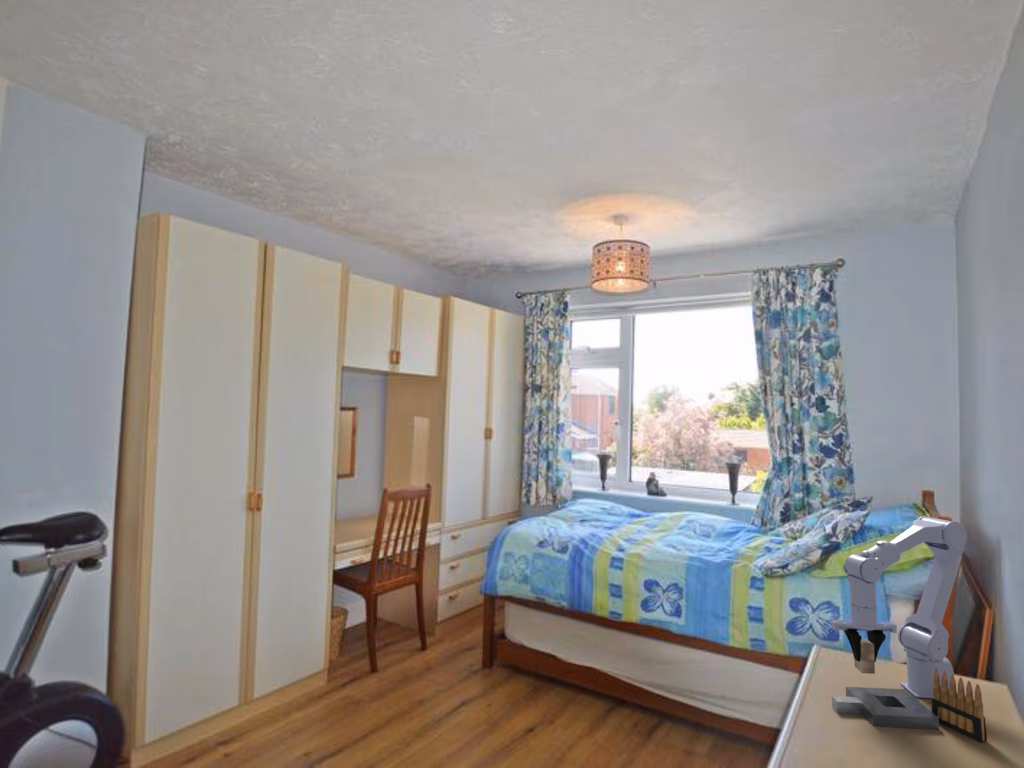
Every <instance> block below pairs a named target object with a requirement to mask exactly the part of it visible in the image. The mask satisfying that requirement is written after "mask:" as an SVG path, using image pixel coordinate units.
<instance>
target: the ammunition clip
mask: <svg viewBox="0 0 1024 768" xmlns="http://www.w3.org/2000/svg"><path fill="white" fill-rule="evenodd" d="M933 678H934V680H933V698H931V712H933V713H934V714H935V715H936V716H937V717H938V718H939V725H941V726H943V727H946V728H948V729H950V730H952V731H953V732H954V731H955V732H957V733H958V734H961V735H963V736H965V737H967V738H969V739H971V740H973V741H976V742H978V743H980V744H981V743H982V744H983V743H987V742H988V736H987V726H986V725H987V724H986V716H984V703H983V698H982V691H981V690H982V689H981V688H980V685H979V684H978V683H976V685H975V688H974V691H973V686H972V683H971V680H967V682H966V687H965V685H964V681H963V680H964V679H962V677H959V678H958V681H957V683H956V677H955V675H953V674H952V675H951V677H950V687H949V689H948V680H947V675H946V673H945V671H943V673H942V679H941V686H940V677H939V672H938V670H937V668H935V670H934V677H933Z"/></svg>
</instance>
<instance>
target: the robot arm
mask: <svg viewBox="0 0 1024 768" xmlns="http://www.w3.org/2000/svg"><path fill="white" fill-rule="evenodd" d="M967 540H968V534H967V531H966V530H965V527H964V525H962V523H960V522H958V521H954V520H951V521H950V520H947V519H946V520H945V519H941V518H936V517H932V516H928V515H922V516H920V517H918V518H917V519H915V520H913V521H912V525H911V526H910V527H909V528H908V529H906V530H905V531H903V532H902V533H900V534H899V535H897V536H896V537H895V538H894V539H892V540H891V541H887V540H878V541H876V542H875V544H874V545H873V546H871V547H870V548H868V549H865V550H863V551H861V553H860V554H854V553H853V554H851V555H850V556H848V557H847V558H846V560H845V562H844V564H843V565H842V569H843V571H844V573H845V574H846V577H847V582H848V584H849V585H848V586H849V612H850V613H849V614H850V616H849V617H850V618H845V619H831V629H832V630H834V631H843V633H844V634H845V636H846V638H847V640H848V642H849V645H850V648H851V651H852V654H853V659H854V661H855V660H856V661H860V658H861V654H860V644H861V639H863V638H862V635H860V633H859V631H861V632H862V631H863V632H866V636H867V640H869V641H870V642H871V643H872V644H874V660H875V663H876V661H877V658H878V657H877V656H878V654H879V651H880V648H881V646H882V645H883V643H884V642H885V640H886V638H887V637H886V634H885V633H884V632H888V633H889V632H890V633H892V634H897V639H898V642H899V644H900V645H901V646H902V647H903V651H904V652H905V653H906V678H907V679H906V680H907V681H900V682H899V684H900V685H901V686H902V687H903V688H904V689H906V690H907V691H908V692H909V693H910V694H911V695H913V696H914V697H915V698H920V699H932V698H933V680H934V678H933V677H934V670H935V668H937V670H938V672H939V677H940V686H941V679H942V673H943V671H945V673H946V675H947V680H948V689H949V687H950V677H951V675H952V674H953V675H954V674H955V673H954V668H953V664H952V663H951V661H950V660H949V659H948V657H946V656H947V655H948V653H949V640H950V639H949V638H950V634H949V631H948V630H947V629H946V628H945V626H944V625H943V620H944V616H945V613H946V610H947V606H948V603H949V600H950V598H951V597H950V596H951V594H952V590H953V587H954V585H955V582H956V578H957V576H958V575H957V574H958V572H959V568H960V566H961V562H962V557H963V552H964V550H965V546H966V543H967ZM920 544H924V545H926V547H927V548H928V549H929V550H930V551H931V552H932V554H933V556H934V558H933V561H932V564H931V567H930V571H929V573H928V575H927V576H928V577H927V580H926V583H925V585H924V589H923V593H922V597H921V599H920V601H919V604H918V608H917V611H916V613H913V614H911V615H908V616H906V618H905V621H904V623H903V624H902V625H901V626H900V628H899V629H897V628H898V627H897V624H895V623H894V622H891V621H880V620H877V619H878V616H877V613H878V612H877V584H876V583H877V581H879V580H880V579H881V577H882V573H884V572H885V570H886V569H888V568H890V567H891V566H893V565H895V564H896V563H898V562H900V560H901V554H903V553H905V552H908V551H909V550H910V549H913V548H914V547H917V546H919V545H920ZM897 630H898V631H897ZM954 676H955V675H954Z"/></svg>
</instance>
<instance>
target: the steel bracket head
mask: <svg viewBox="0 0 1024 768" xmlns="http://www.w3.org/2000/svg"><path fill="white" fill-rule="evenodd" d="M831 707H832V708H833V709H834V711H835V712H836V713H839V714H859V715H862V716H863V717H865V719H866V720H867V721H868V722H869V723H870V724H871V726H873V727H889V728H890V727H891V728H906V729H907V728H908V729H925V730H926V729H927V730H930V729H931V730H939V729H940V724H939V718H938V717H937V716H936V715H935V714H934V713H933V712H932V710H930V709H929V708H928V707H926V705H924V704H923V702H921V701H920V700H919V699H917V697H915V696H914V695H913V694H912V693H911V692H910V691H908V690H907V689H906V688H888V687H887V688H884V687H883V688H882V687H866V686H865V687H862V686H845V695H844V696H843V695H842V696H841V695H840V696H839V695H831Z"/></svg>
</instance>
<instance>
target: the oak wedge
mask: <svg viewBox="0 0 1024 768" xmlns="http://www.w3.org/2000/svg"><path fill="white" fill-rule="evenodd" d="M860 654H861V658H860V661H856V660H855V659H854V667H855V668H856V669H857V670H858V671H859V672H860V673H861V674H869V675H871V674H873V675H875V674H876V667H875V664H876V662H875V660H874V644H872V643H871V642H870V641H869V640H868V638H861V644H860Z"/></svg>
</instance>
